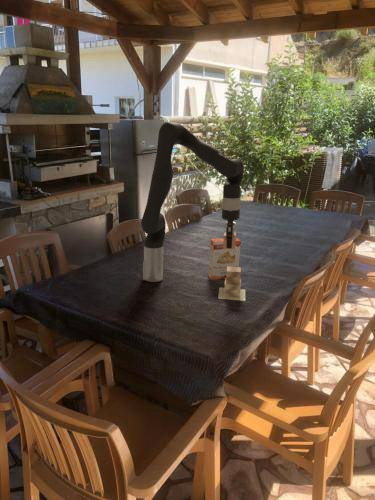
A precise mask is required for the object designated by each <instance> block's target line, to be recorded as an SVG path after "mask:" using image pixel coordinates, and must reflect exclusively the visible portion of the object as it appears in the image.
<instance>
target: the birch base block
mask: <svg viewBox="0 0 375 500" xmlns="http://www.w3.org/2000/svg"><path fill="white" fill-rule="evenodd" d="M223 288H224V297H236V298H240V289H242V279H241V278H240V285H235V284H226V278H225V279H224V287H223Z"/></svg>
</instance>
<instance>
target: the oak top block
mask: <svg viewBox="0 0 375 500" xmlns="http://www.w3.org/2000/svg"><path fill="white" fill-rule="evenodd" d="M241 269H242V268H241V266H240V267H230V266H227V275H226V284H235V285H240V279H241V272H242V271H241Z"/></svg>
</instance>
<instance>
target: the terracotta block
mask: <svg viewBox="0 0 375 500" xmlns="http://www.w3.org/2000/svg"><path fill="white" fill-rule="evenodd" d="M226 235H227V234H226V231H225V232H223V238H224V243H223V249H235V241H236V238H237V232H234V234H233V235H232V238H233V239H232V248H227V240H226ZM228 237H231V235H228Z"/></svg>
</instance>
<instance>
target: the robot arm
mask: <svg viewBox="0 0 375 500" xmlns="http://www.w3.org/2000/svg"><path fill="white" fill-rule="evenodd" d="M175 145H180V146H182V147H184V148H186V149H188V150H190V151H191V152H192V153H193V154H195V156H197V158H199V160H201V161H203V162H205V163H206V164H207V165H209V166H211V167H213V168H214V170H216V171H217V172H218V173H219V174H221V176H223V177H226V178H227V179H226V182H225V183H224V185H223V188H222V201H221V219H223V220H225V224H224V225H225V232H226V234H227V235H226V240H227V248H232V239H233V238H232V235H233V234H234V233H235V227H236V222H235V221H237V220H239V219H240V216H241V215H240V213H241V185H242V181H243V177H244V172H245V171H244V170H245V169H244V164H243V162H242V161H241V160H240V159H238V158H233V159H229V158H228V157H226V156H225V154H224V152H223V151H221V150H220V149H217V148H216V147H214V146H212V145H210V144H209V143H207V142H205V141H203V140H202V139H200V138H199V137H197V136H196V135H195V134H194V133H192V132H191V131H190V130H188V128H186V127H185V126H184V125H183V124H181V123H180V122H175V121H173V122H172V121H170V122H169V121H168V122H164V123H163V124H161V126H160V128H159V130H158V137H157V146H156V147H157V148H156V155H155V159H154V165H153V171H152V175H151V179H150V186H149V190H148V194H147V195H148V196H147V200H146V201H147V202H146V205H145V208H144V211H143V215H142V218H141V223H140V224H141V229H142V231H143V233H145V234H146V237H145V238H144V240H143V261H142V281H147V282H150V283H157V282H161V281H162V280H163V279H164V278H163V277H164V242H165V238H166V224H167V223H166V219H165V217H164V216H165V215H164V214H162V213H161V210H162V207H163V205H164V203H165V201H166V198H167V197H168V195H169V192H170V191H171V188H172V187H171V186H172V182H173V178H174V171H173V164H172V155H173V150H174V146H175ZM228 235H231V237H228Z"/></svg>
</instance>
